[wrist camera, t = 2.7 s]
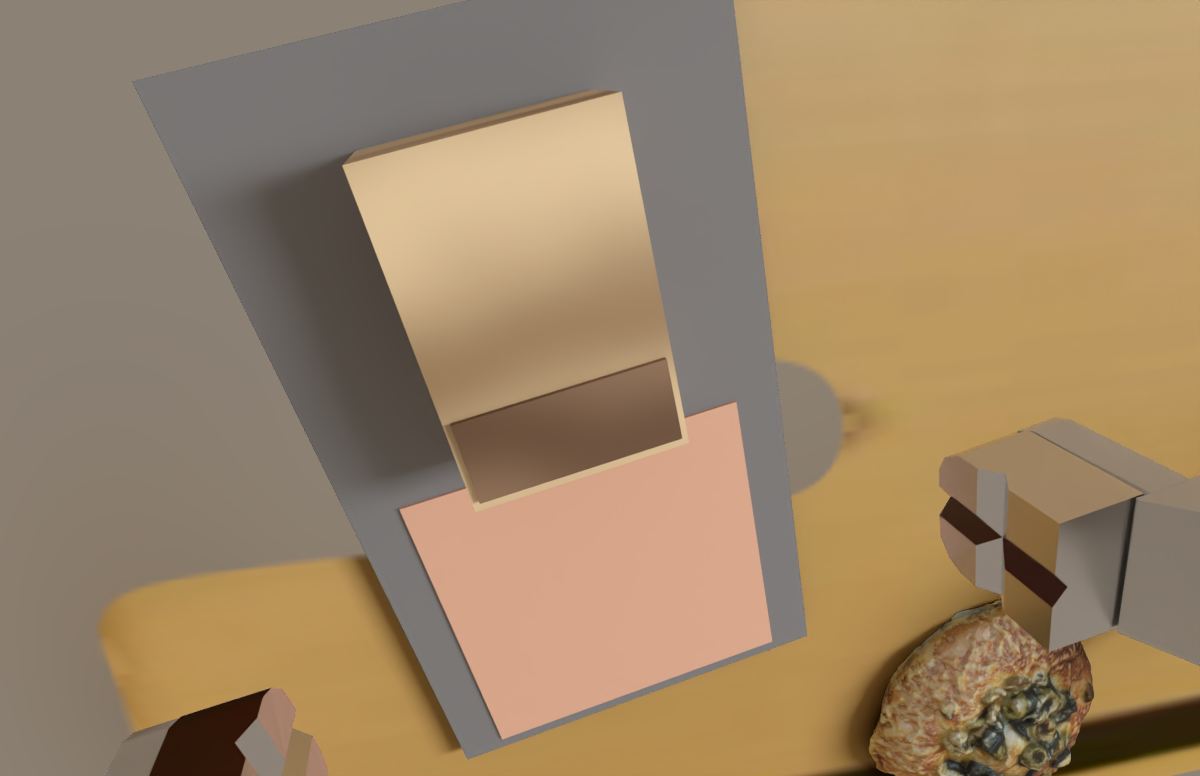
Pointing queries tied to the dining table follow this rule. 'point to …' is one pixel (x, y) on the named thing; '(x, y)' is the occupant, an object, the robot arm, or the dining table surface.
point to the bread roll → (982, 702)
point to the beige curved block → (527, 291)
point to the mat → (401, 397)
